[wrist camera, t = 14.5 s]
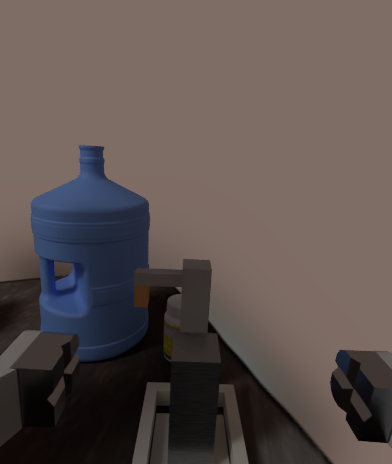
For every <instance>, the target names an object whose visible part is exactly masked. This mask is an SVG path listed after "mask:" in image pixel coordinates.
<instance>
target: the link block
mask: <svg viewBox="0 0 392 464" xmlns="http://www.w3.org/2000/svg"><path fill="white" fill-rule="evenodd" d="M220 373H221V357H220V350H219V343H218V336H217V333H191V332H174V338H173V348H172V358H171V379H170V406H169V434H168V461H167V464H213V454H214V442H215V431H216V419H217V407H218V396H219V384H220Z"/></svg>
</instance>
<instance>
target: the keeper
mask: <svg viewBox="0 0 392 464" xmlns="http://www.w3.org/2000/svg"><path fill="white" fill-rule="evenodd" d="M211 272H212V269H211V264H210V260H193V259H183V270H171V269H168V270H167V269H147V268H137V269H136V271H135V273H134V307H148V303H149V286H169V287H182V297H181V320H180V332H191V333H207V330H208V316H209V301H210V287H211ZM157 405H159V406H170V383H160V382H148V383H147V388H146V393H145V398H144V403H143V409H142V414H141V419H140V424H139V430H138V435H137V440H136V445H135V451H134V456H133V461H132V464H149V457H150V450H151V442H152V435H153V428H154V421H155V413H156V406H157ZM218 407H223V411H224V416H223V415H217V419H216V431H215V442H214V454H213V464H249V463H248V458H247V453H246V447H245V442H244V437H243V432H242V426H241V421H240V416H239V411H238V406H237V400H236V395H235V390H234V385H227V384H219V396H218ZM224 419H225V424H224ZM225 426H226V432H225ZM168 434H169V413H157V414H156V421H155V429H154V436H153V444H152V451H151V459H150V464H167V461H168ZM226 434H227V440H226ZM227 441H228V447H227ZM228 449H229V455H228ZM229 457H230V463H229Z"/></svg>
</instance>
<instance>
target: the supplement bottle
mask: <svg viewBox="0 0 392 464" xmlns="http://www.w3.org/2000/svg"><path fill="white" fill-rule="evenodd" d="M181 297H182V294H177V295H173V296H171V297H169V298H168V300H167V311H166V313H165V315H164V349H163V353H164V357H165V358H166V359H167V360H168V361H169V362H171V358H172V348H173V338H174V332H180V320H181Z"/></svg>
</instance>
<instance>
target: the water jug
mask: <svg viewBox="0 0 392 464" xmlns="http://www.w3.org/2000/svg"><path fill="white" fill-rule="evenodd" d="M79 148H80V155H81V157H80V158H79V160H80V161H79V162H80V169H81V172H80V175H79V176H78V178H76V179H74V180H72V181H70V182H68V183H66V184H64V185H62V186H59V187H57V188H55V189H53V190H51V191H49V192H46V193H44V194H42V195H40V196H38V197H36V198H34V199H33V200H32V202H31V211H32V213H31V227H32V232H33V234H34V246H35V252H36V253H37V254H38V255H39V263H40V274H41V287H42V293H41V295H40V298H39V302H40V313H41V331H43V332H44V331H49V332H61V333H73V334H77V335H78V336H79V348H78V349H77V351H76V354H77V356H78V357H79V358H80V362H92V361H99V360H104V359H108V358H112V357H115V356H117V355H120V354H122V353H124V352H126V351H128V350H129V349H131V348H133V347H134V346H135V345H136V344H138V343H139V342H140V341H141V339H142V338H143V337H144V335H145V334H146V332H147V329H148V307H134V273H135V271H136V269H137V268H147V269H149V264H148V231H149V226H150V224H149V223H150V216H149V203H148V201H147V200H146V199H145V198H143V197H141V196H140V195H138V194H136V193H134V192H132V191H130V190H128V189H126V188H124V187H122V186H120V185H118V184H116V183H114V182H113V181H111V180H109V179H107V178H106V176H105V174H104V158H103V150H104V147H101V146H85V145H84V146H83V145H79ZM54 261H58V262H66V263H72V272H71V274H70V275H69V276H67V277H65V278H62V279H60V280H58V281H55V272H54Z"/></svg>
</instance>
